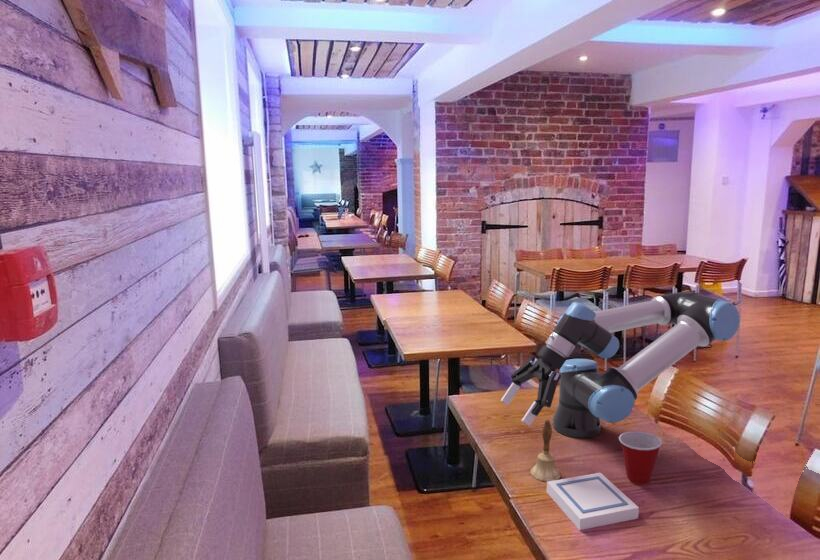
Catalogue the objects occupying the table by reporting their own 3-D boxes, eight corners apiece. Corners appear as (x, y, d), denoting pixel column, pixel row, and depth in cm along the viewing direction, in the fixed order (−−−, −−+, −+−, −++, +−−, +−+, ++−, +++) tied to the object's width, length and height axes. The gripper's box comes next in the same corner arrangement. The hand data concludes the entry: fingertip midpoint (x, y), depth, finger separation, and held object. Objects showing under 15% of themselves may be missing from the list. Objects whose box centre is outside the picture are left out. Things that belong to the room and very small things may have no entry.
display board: (599, 482, 146) (600, 471, 145) (638, 518, 131) (638, 506, 130) (546, 491, 142) (546, 481, 141) (579, 530, 127) (580, 518, 126)
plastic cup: (626, 463, 155) (629, 425, 153) (665, 477, 147) (668, 437, 145) (609, 478, 148) (611, 438, 145) (649, 494, 140) (652, 452, 138)
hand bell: (526, 466, 154) (528, 415, 151) (554, 464, 155) (556, 413, 152) (535, 483, 146) (537, 429, 143) (565, 481, 147) (567, 427, 144)
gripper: (525, 332, 164) (487, 389, 165) (570, 359, 141) (525, 426, 141) (543, 344, 167) (505, 400, 167) (589, 372, 143) (545, 438, 144)
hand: (514, 412), depth 154 cm, fingers open, 13 cm apart
